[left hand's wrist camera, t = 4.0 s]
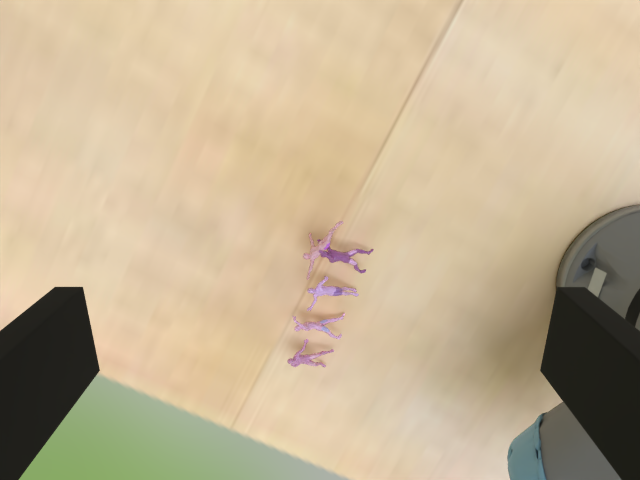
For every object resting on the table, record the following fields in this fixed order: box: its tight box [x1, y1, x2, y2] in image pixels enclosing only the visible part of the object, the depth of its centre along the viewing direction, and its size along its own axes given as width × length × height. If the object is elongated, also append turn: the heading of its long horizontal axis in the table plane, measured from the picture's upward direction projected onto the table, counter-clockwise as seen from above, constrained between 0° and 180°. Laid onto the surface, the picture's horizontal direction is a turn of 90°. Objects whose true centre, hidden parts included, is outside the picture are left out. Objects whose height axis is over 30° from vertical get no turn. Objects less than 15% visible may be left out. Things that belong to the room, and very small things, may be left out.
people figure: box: [288, 221, 373, 367], centre depth 46 cm, size 18×6×8 cm
